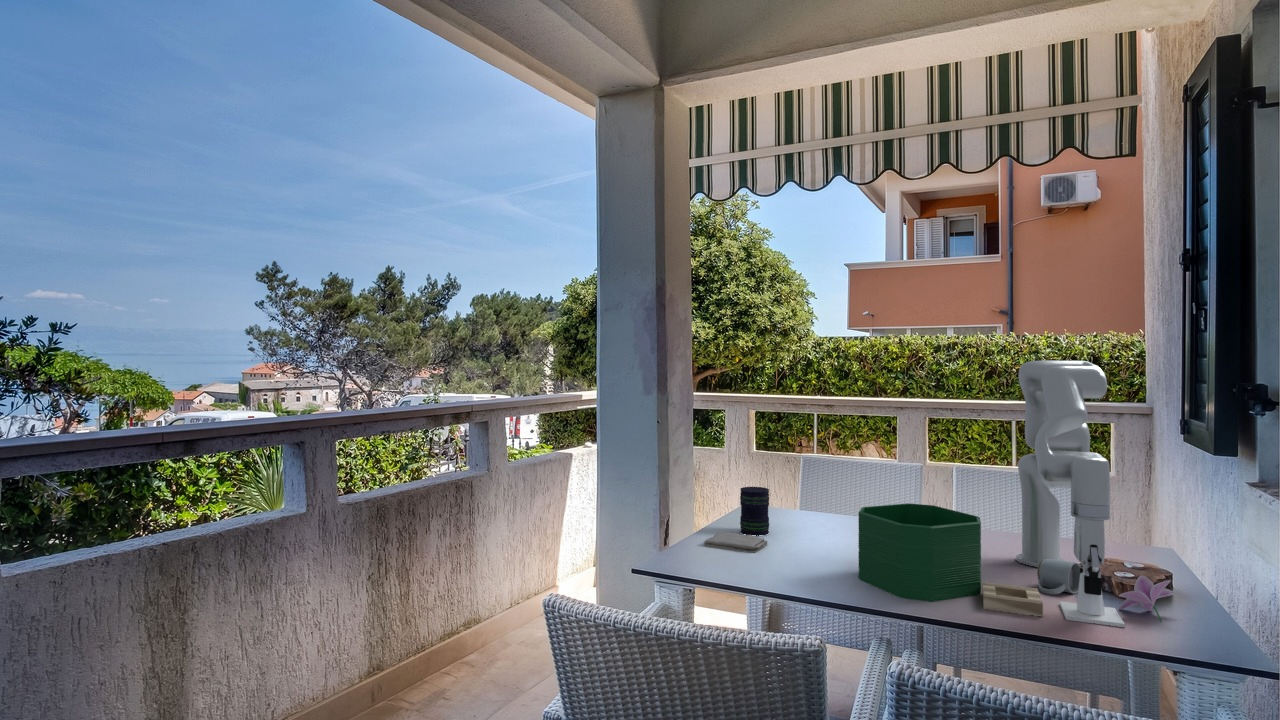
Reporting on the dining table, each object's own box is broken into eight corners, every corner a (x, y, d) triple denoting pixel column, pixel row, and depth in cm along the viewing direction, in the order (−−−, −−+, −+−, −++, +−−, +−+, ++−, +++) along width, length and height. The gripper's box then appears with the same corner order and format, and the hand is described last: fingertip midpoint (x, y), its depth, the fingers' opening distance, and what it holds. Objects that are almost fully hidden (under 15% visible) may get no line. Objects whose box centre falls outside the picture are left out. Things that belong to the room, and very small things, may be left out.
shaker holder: (982, 594, 172) (982, 582, 172) (1037, 601, 167) (1037, 588, 167) (983, 609, 161) (983, 596, 161) (1042, 617, 156) (1042, 603, 156)
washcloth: (756, 555, 209) (756, 545, 210) (702, 547, 218) (702, 537, 218) (769, 546, 220) (769, 536, 220) (716, 539, 229) (716, 530, 229)
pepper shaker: (1104, 610, 158) (1103, 562, 159) (1105, 617, 154) (1104, 567, 154) (1076, 606, 161) (1075, 559, 161) (1076, 613, 156) (1075, 564, 157)
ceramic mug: (1048, 582, 182) (1048, 553, 182) (1083, 590, 175) (1082, 560, 175) (1029, 591, 175) (1029, 560, 175) (1064, 599, 169) (1064, 568, 169)
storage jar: (757, 537, 229) (757, 492, 229) (734, 532, 236) (734, 488, 236) (775, 533, 236) (775, 489, 236) (752, 528, 243) (752, 485, 243)
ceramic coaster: (1059, 604, 165) (1059, 601, 165) (1114, 611, 160) (1114, 608, 160) (1065, 619, 155) (1065, 616, 155) (1124, 627, 150) (1124, 623, 150)
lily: (1186, 621, 157) (1166, 578, 162) (1193, 615, 148) (1172, 570, 152) (1126, 630, 161) (1108, 587, 166) (1130, 625, 152) (1111, 580, 157)
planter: (846, 574, 189) (845, 507, 189) (921, 565, 198) (921, 501, 198) (915, 605, 165) (914, 528, 165) (996, 592, 174) (996, 520, 174)
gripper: (1065, 502, 167) (1066, 577, 167) (1076, 516, 152) (1076, 599, 151) (1102, 505, 164) (1103, 581, 164) (1117, 519, 148) (1117, 604, 148)
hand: (1090, 589), depth 157 cm, fingers open, 5 cm apart
